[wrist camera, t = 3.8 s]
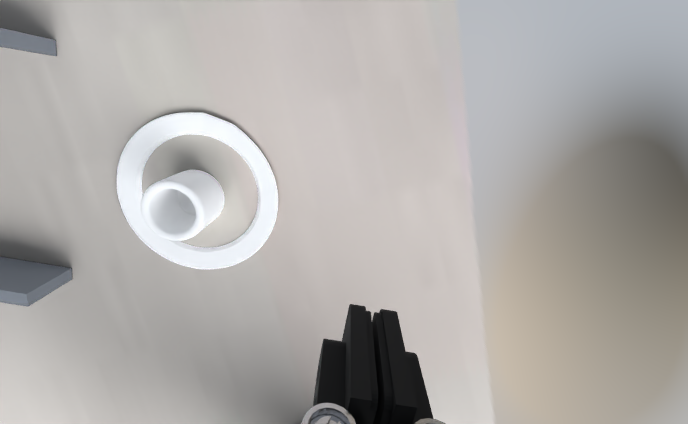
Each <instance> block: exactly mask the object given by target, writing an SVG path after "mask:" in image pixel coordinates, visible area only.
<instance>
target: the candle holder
mask: <svg viewBox="0 0 688 424" xmlns="http://www.w3.org/2000/svg"><path fill="white" fill-rule="evenodd" d="M187 134H198V135H205V136H209V137H212V138H215V139H217V140H220V141H222V142H224V143H225V144H227V145H229V146H230V147H231V148H233V149H234V150H235V151H236V152H237V153H238V154H239V155H240V156H241V157H242V158H243V159H244V160H245V162H246V163H247V164H248V166H249V167H250V169H251V171H252V173H253V175H254V178H255V181H256V184H257V189H258V207H257V212H256V215H255V218H254V220H253V222H252V224H251V225H250V227H249V228H248V229H247V231H246V232H245V233H244V234H243V235H242V236H240V237H239V238H238V239H236V240H235V241H233V242H231V243H228V244H226V245H223V246H218V247H209V248H205V247H196V246H192V245H189V244H186V243H183V242H181V241H182V240H187V239H189V238H192V237H193V236H195V235H196V234H198V233H199V232H200V231H201V230H203V229H204V228H205V227H206V226H207V225H209V224H210V223H211V222H212V221H213V220H215V219H216V218H217V217H218V216H219V215H220V213H221V212H222V210H223V207H224V202H225V196H224V192H223V189H222V187H221V185H220V184H219V182H218V181H217V180H216V179H215V178H214V177H213V176H211V175H210V174H208V173H206V172H204V171H200V170H186V171H183V172H180V173H178V174H175V175H172V176H170V177H167V178H165V179H162V180H160V181H157V182H155V183H153V184H152V185H151V186H149V187H148V188H147V189H146V191H145V192H144V194H143V193H142V175H143V170H144V167H145V164H146V162H147V160H148V158H149V157H150V155H151V154H152V152H153V151H154V150H155V149H156V148H157V147H158V146H159V145H161V144H162V143H164V142H165V141H167V140H169V139H171V138H174V137H177V136H181V135H187ZM116 184H117V194H118V198H119V202H120V206H121V208H122V211H123V213H124V216H125V218H126V220H127V221H128V223H129V225H130V226H131V228H132V229H133V231H134V232H135V233H136V235H137V236H138V237H139V238H140V239H141V240H142V241H143V242H144V243H145V244H146V245H147V246H148V247H149V248H151V249H152V250H153V251H154V252H156V253H157V254H159V255H160V256H162V257H164V258H166V259H168V260H170V261H172V262H174V263H176V264H179V265H182V266H186V267H190V268H195V269H220V268H226V267H229V266H233V265H235V264H238V263H240V262H242V261H244V260H246V259H247V258H249V257H250V256H252V255H253V254H254V253H256V252H257V251H258V250H259V249H260V248H261V247H262V245H263V244H264V243H265V242H266V240H267V239H268V237H269V235H270V234H271V232H272V229H273V227H274V224H275V221H276V217H277V212H278V191H277V185H276V181H275V177H274V174H273V172H272V169H271V167H270V165H269V163H268V161H267V159H266V158H265V156H264V155H263V153H262V152H261V150H260V149H259V148H258V147H257V145H256V144H255V143H254V142H253V141H252V140H251V139H250V138H249V137H248V136H247V135H246V134H245V133H243V132H242V131H241V130H240V129H239V128H238V127H236V126H235V125H234V124H232V123H230V122H227V121H224V120H222V119H219V118H217V117H214V116H212V115H209V114H207V113H202V112H184V113H174V114H169V115H165V116H162V117H159V118H157V119H155V120H153V121H151V122H149V123H147V124H146V125H144V126H143V127H142V128H140V129H139V130H138V131H137V132H136V133H135V134H134V135H133V136H132V137H131V139H130V140H129V141H128V143H127V144H126V146H125V148H124V150H123V152H122V154H121V157H120V160H119V163H118V168H117V177H116Z"/></svg>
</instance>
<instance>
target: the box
mask: <svg viewBox="0 0 688 424" xmlns="http://www.w3.org/2000/svg"><path fill="white" fill-rule="evenodd" d="M0 47H5V48H11V49H17V50H23V51H28V52H34V53H40V54H46V55H52V56H57V54H56V40H52V39H48V38H44V37H39V36H35V35H30V34H26V33H22V32H17V31H13V30H8V29H4V28H0ZM70 280H72V268H67V267H61V266H55V265H49V264H43V263H36V262H30V261H24V260H18V259H12V258H6V257H0V302H3V303H9V304H16V305H22V306H30V305H31V304H33V303H34V302H36V301H38V300H39V299H41V298H43V297H44V296H46V295H47V294H49V293H51V292H52V291H54V290H55V289H57V288H59V287H60V286H62V285H64V284H65V283H67V282H68V281H70Z"/></svg>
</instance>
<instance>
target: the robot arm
mask: <svg viewBox="0 0 688 424" xmlns="http://www.w3.org/2000/svg"><path fill="white" fill-rule="evenodd" d="M301 424H445V423H443V422H441V421H439V420H436V419H433V415H432V412H431V408H430V404H429V400H428V396H427V392H426V388H425V384H424V380H423V377H422V373H421V369H420V365H419V361H418V358H417V355H416V354H415V353H410V352H405V347H404V343H403V338H402V333H401V329H400V324H399V319H398V315H397V312H396V311H390V310H383V309H381V310H380V313H376V312H375V313H374V316H373V320H371V312H370V311H366V308H365V306H359V305H353V304H350V306H349V310H348V315H347V319H346V324H345V329H344V334H343V338H342V342H341V341H335V340H328V339H323V344H322V349H321V354H320V360H319V366H318V372H317V379H316V387H315V395H314V403H313V407H311V408H310V409H309V410H308V411H307V412H306V414H305V416H304V418H303V420H302V423H301Z"/></svg>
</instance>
